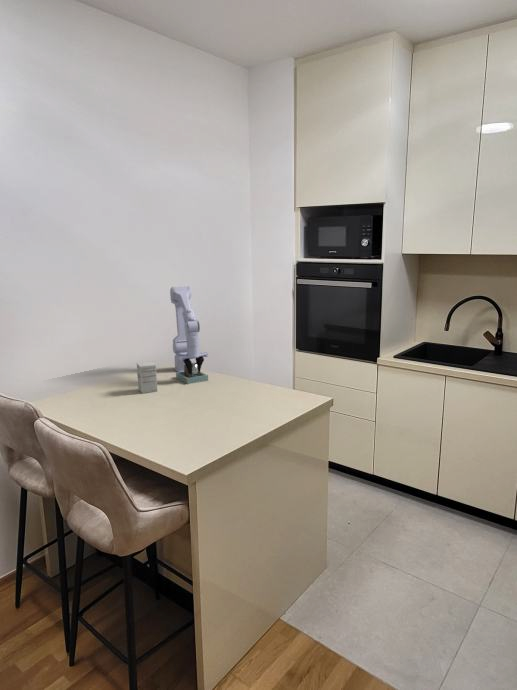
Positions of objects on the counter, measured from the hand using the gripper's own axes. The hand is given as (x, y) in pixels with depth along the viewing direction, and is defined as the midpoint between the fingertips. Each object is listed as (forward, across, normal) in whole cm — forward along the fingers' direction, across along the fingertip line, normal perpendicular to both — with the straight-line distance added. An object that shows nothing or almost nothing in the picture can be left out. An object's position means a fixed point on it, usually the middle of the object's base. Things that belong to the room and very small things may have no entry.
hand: (194, 373), depth 230 cm
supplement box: (+4, -24, -4) cm, 25 cm away
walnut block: (+3, 0, +6) cm, 6 cm away
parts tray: (+4, 0, +3) cm, 5 cm away
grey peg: (+2, 0, 0) cm, 2 cm away
